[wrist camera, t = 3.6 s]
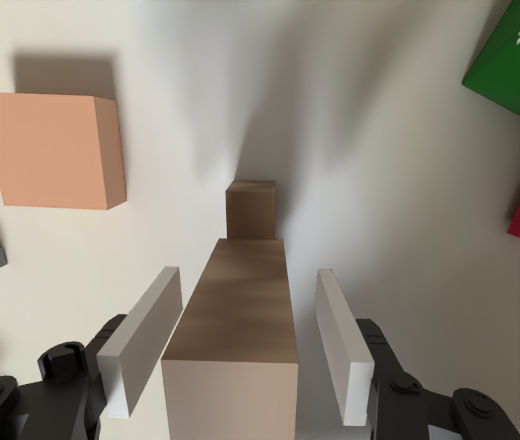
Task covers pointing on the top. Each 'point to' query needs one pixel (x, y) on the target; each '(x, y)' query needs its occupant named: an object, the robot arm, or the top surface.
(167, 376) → the stepped wooden beam
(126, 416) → the robot arm
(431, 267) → the top surface
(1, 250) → the frame
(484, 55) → the milk carton
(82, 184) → the salmon square block
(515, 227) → the red board with handle
